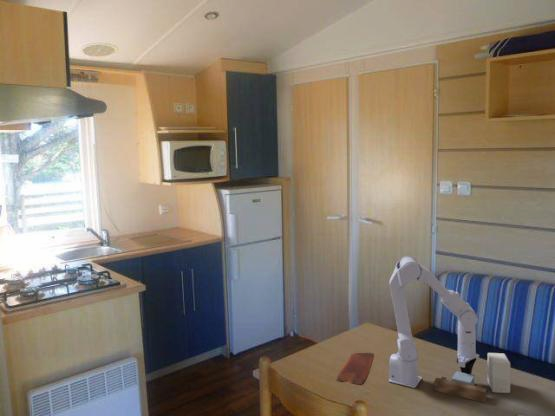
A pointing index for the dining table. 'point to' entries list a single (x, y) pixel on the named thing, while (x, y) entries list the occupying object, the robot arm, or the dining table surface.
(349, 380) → the wooden tablet
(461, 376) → the block
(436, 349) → the dining table surface
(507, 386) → the small box
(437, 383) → the rail
